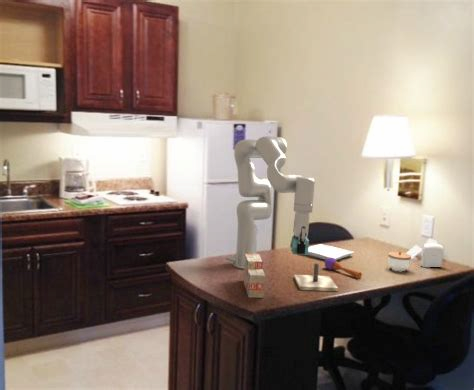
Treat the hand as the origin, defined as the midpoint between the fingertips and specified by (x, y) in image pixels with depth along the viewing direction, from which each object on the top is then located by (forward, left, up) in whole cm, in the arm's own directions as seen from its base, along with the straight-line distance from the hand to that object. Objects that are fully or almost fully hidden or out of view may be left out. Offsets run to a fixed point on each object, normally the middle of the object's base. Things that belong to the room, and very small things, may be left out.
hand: (299, 250), depth 204 cm
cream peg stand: (+10, +10, -17) cm, 22 cm away
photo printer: (+77, +46, -18) cm, 91 cm away
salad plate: (+26, +59, -18) cm, 67 cm away
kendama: (+26, +29, -18) cm, 43 cm away
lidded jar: (+57, +38, -18) cm, 71 cm away
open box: (0, 0, -1) cm, 1 cm away
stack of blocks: (-18, +1, -18) cm, 25 cm away
